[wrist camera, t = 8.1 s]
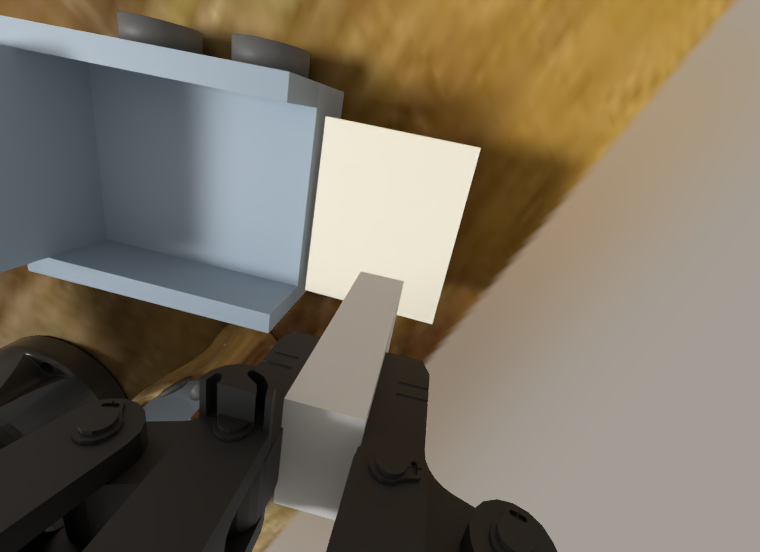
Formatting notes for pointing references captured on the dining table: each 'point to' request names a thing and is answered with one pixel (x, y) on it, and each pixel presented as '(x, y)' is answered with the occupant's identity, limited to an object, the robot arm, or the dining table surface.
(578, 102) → the dining table surface
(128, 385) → the dining table surface
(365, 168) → the tailgate
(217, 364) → the beer glass
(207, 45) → the dining table surface
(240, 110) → the trailer
